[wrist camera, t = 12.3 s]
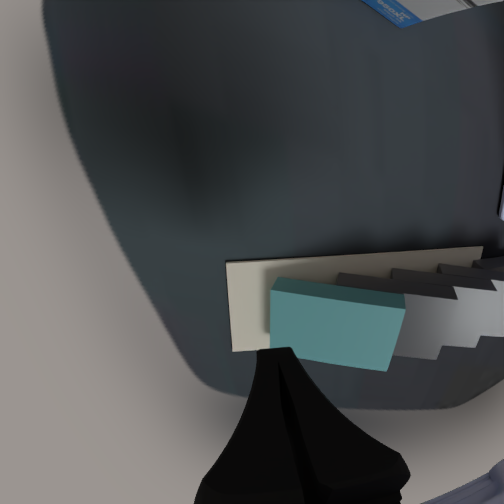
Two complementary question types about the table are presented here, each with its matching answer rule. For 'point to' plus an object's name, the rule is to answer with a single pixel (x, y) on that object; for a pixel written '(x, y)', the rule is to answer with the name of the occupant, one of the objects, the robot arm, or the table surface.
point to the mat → (320, 271)
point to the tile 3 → (459, 303)
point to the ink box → (420, 9)
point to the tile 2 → (414, 312)
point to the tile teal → (335, 323)
